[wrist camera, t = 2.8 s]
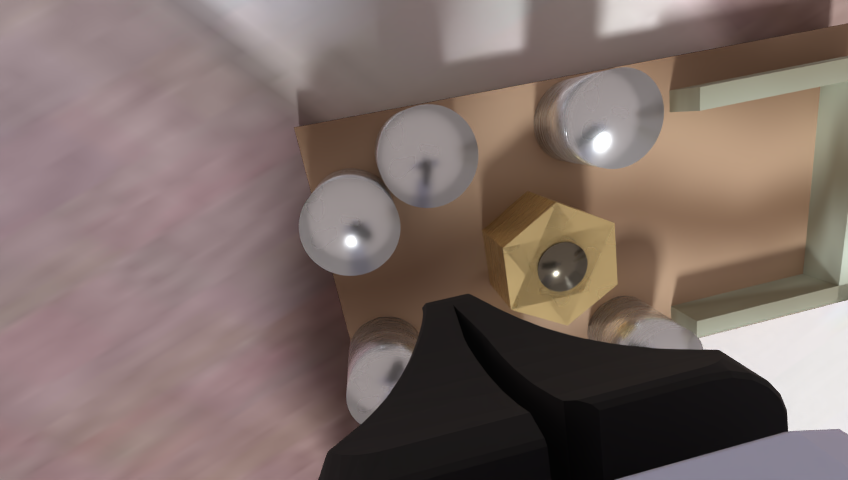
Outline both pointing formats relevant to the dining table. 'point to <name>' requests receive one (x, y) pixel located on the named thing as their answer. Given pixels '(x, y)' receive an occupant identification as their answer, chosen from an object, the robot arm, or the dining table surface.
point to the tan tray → (645, 192)
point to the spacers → (447, 179)
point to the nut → (550, 258)
